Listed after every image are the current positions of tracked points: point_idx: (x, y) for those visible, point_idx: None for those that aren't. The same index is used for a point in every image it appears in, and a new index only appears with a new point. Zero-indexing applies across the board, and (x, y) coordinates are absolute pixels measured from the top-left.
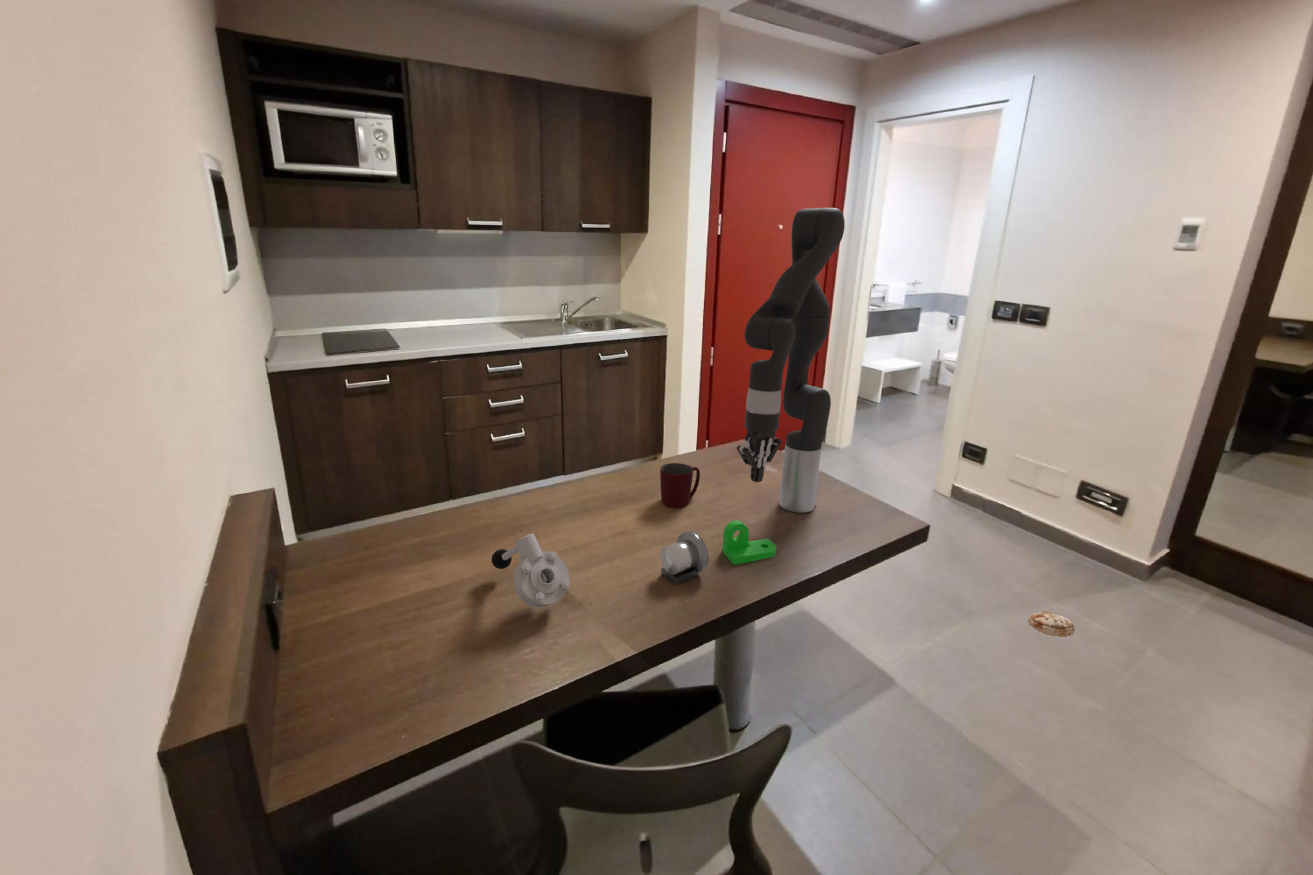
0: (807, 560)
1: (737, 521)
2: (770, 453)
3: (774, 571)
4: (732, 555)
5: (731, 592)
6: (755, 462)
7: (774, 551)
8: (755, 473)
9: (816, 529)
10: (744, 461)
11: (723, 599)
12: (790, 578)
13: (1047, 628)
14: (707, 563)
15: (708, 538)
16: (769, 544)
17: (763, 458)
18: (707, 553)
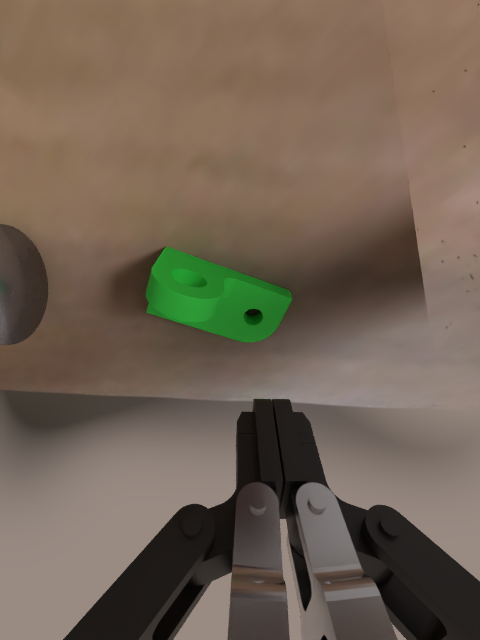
0: (296, 373)
1: (185, 303)
2: (401, 627)
3: (207, 363)
4: (148, 304)
5: (79, 364)
6: (204, 584)
7: (253, 340)
8: (236, 474)
9: (457, 309)
10: (156, 539)
11: (52, 369)
12: (212, 390)
13: None
14: (35, 328)
15: (184, 158)
16: (268, 319)
17: (299, 599)
18: (18, 341)
